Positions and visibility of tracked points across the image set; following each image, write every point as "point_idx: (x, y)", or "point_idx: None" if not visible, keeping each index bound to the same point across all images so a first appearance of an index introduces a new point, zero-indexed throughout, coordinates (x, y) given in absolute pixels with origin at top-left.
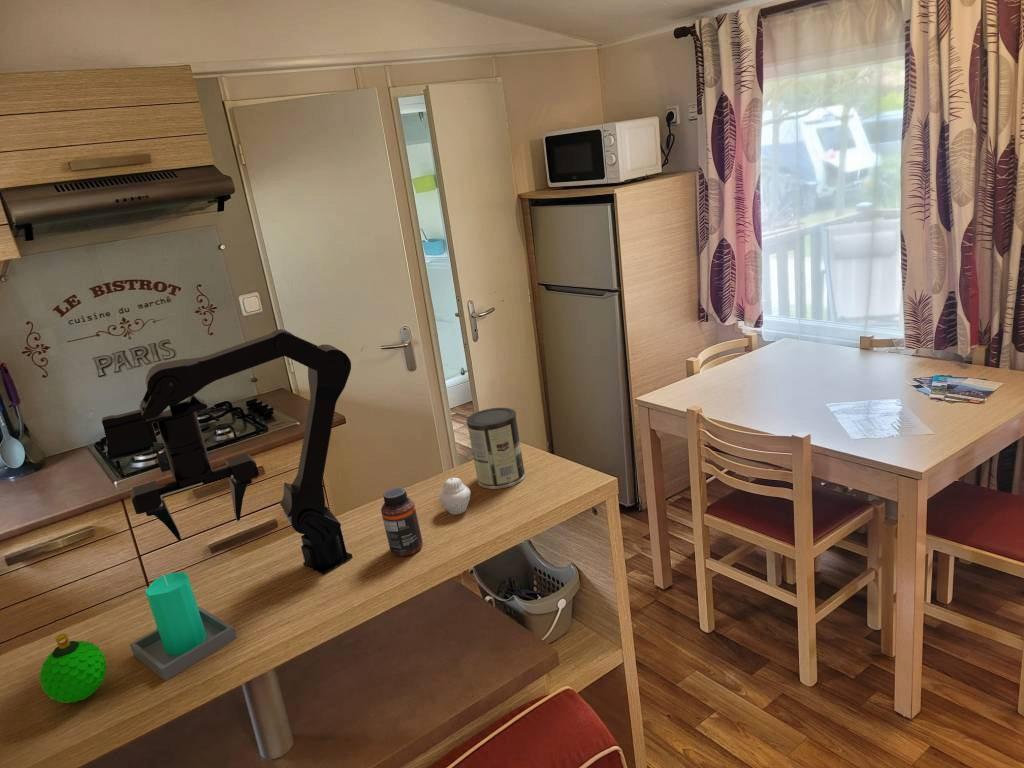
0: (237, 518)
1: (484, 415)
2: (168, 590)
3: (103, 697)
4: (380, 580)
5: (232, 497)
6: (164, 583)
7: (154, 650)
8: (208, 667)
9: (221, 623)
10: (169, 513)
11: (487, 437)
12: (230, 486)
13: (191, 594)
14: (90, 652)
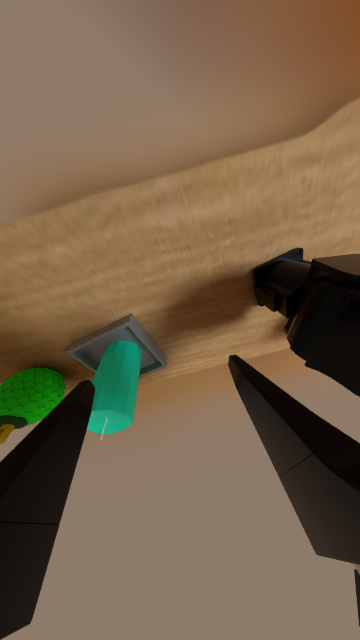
0: (232, 374)
1: None
2: (111, 424)
3: (71, 378)
4: (283, 338)
5: (276, 423)
6: (99, 414)
7: (95, 352)
8: (147, 376)
9: (157, 358)
10: (39, 539)
11: None
12: (332, 478)
13: (135, 400)
14: (44, 412)
